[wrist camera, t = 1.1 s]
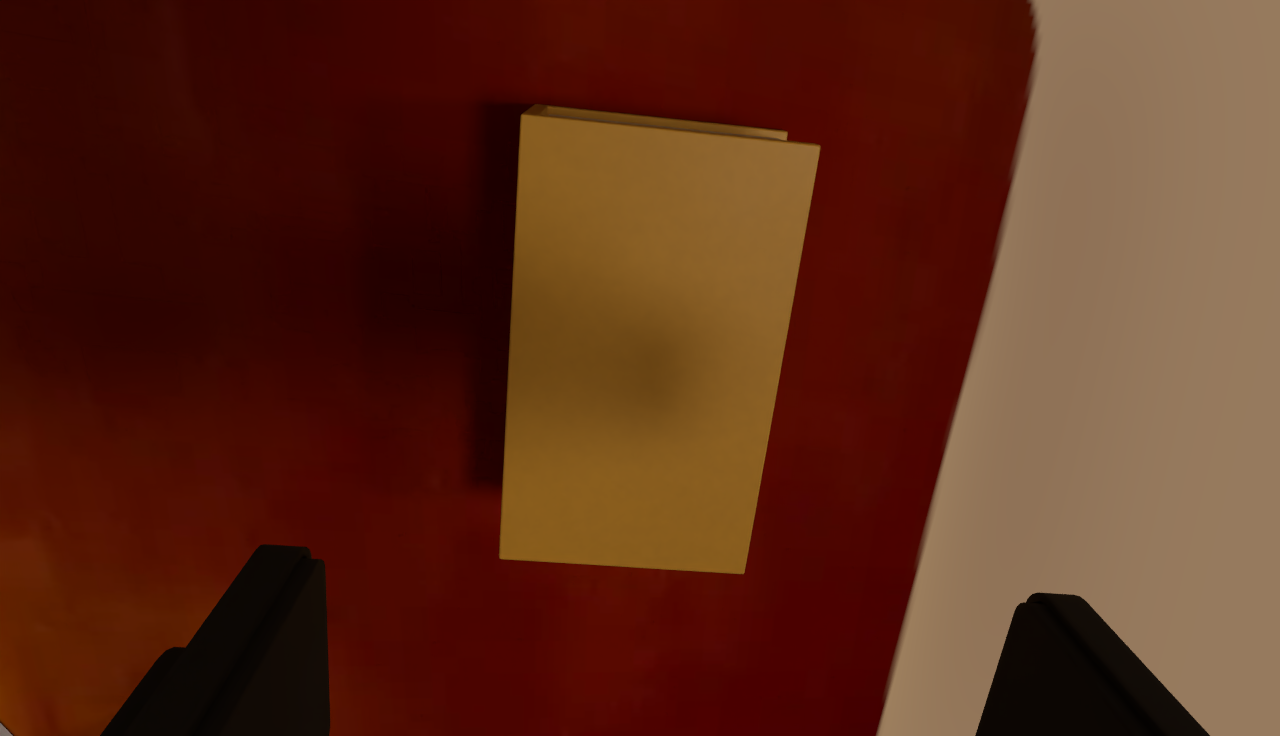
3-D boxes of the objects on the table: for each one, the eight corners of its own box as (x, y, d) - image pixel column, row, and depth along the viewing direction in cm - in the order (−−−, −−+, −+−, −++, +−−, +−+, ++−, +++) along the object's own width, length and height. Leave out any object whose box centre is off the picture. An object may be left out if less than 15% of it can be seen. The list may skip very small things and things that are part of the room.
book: (534, 103, 22) (520, 113, 18) (785, 130, 23) (821, 145, 19) (513, 488, 26) (498, 559, 23) (724, 502, 27) (744, 574, 23)
